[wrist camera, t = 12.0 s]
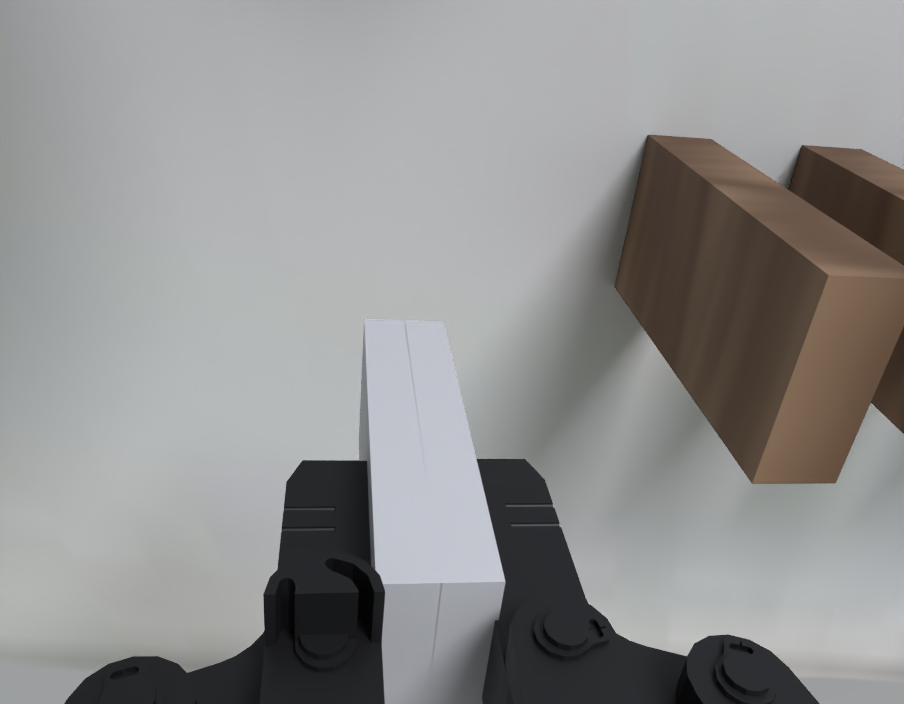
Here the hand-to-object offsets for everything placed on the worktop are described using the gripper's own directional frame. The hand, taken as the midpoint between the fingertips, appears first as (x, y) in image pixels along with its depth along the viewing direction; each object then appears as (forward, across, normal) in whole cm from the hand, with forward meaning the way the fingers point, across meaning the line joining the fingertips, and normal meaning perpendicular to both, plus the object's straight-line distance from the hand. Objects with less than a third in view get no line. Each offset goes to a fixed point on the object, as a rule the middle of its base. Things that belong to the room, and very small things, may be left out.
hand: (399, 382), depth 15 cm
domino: (+10, +9, 0) cm, 13 cm away
